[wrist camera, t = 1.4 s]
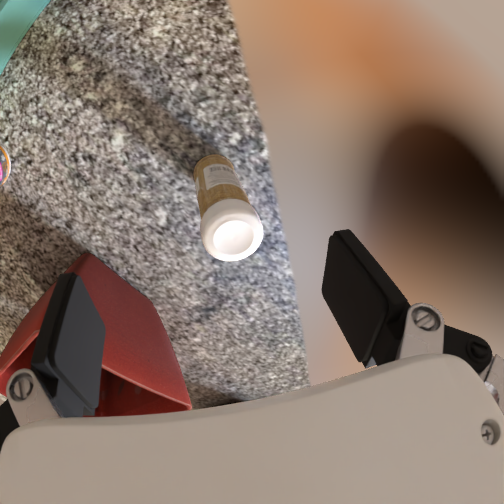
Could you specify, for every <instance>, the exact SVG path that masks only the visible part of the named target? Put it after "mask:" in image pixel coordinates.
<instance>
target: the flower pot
mask: <svg viewBox="0 0 504 504" xmlns="http://www.w3.org/2000/svg"><path fill="white" fill-rule="evenodd" d="M70 272H75V273H76V275H80V276H81V278H82V280H83V283H84V285H85V287H86V289H87V291H88V293H89V295H90V297H91V299H92V301H93V303H94V305H95V307H96V309H97V311H98V313H99V315H100V317H101V318H102V320H103V322H104V324H105V328H106V335H105V342H104V350H103V358H102V367H101V378H100V390H99V404H98V407H97V408H95V416H88V415H83V417H112V416H134V415H149V414H161V413H171V412H180V411H188V410H191V409H192V405H191V402H190V398H189V395H188V391H187V388H186V385H185V382H184V379H183V375H182V372H181V369H180V366H179V364H178V361H177V358H176V355H175V353H174V350H173V347H172V345H171V342H170V340H169V337H168V335H167V332H166V330H165V328H164V326H163V324H162V321H161V319H160V317H159V315H158V313H157V311H156V309H155V307H154V305H153V303H152V302H151V301H150V300H149V299H148V298H147V297H145V296H144V295H143V294H141V293H140V292H139V291H137V290H136V289H135V288H134V287H132V286H131V285H130V284H128V283H127V282H126V281H125V280H123V279H122V278H121V277H120V276H118V275H117V274H116V273H115V272H113V271H112V270H111V269H110V268H109V267H107V266H106V265H105V264H104V263H103V262H101V261H100V260H99V259H98V258H97V257H95V256H94V255H93V254H91V253H84V254H82V255H81V256H80V257H79V258H78V259H77V260H76V261H75V262H74V263H73V264H72V265H71V266H70V267H69V268H68V269H67V270H66V271H65V272H64V273H70ZM64 273H63V274H64ZM56 282H57V281H56ZM56 282H55V283H54V284H53V285H52V286H51V287H50V288H49V289H48V290H47V291H46V292H45V294H44V295H43V296H42V297H41V298H40V299H39V300H38V301H37V302H36V303H35V305H34V306H33V307H32V308H31V310H30V311H29V312H28V314H27V315H26V316H25V318H24V319H23V320H22V322H21V323H20V325H19V326H18V328H17V329H16V331H15V332H14V334H13V335H12V337H11V338H10V340H9V342H8V343H7V345H6V347H5V349H4V350H3V352H2V354H1V356H0V393H1V394H2V395H4V396H6V397H7V395H6V386H7V383H8V380H9V379H10V377H11V376H12V375H13V374H14V373H15V372H16V371H18V370H20V369H29V370H30V368H31V359H32V355H33V352H34V348H35V345H36V341H37V338H38V334H39V331H40V328H41V325H42V322H43V318H44V315H45V312H46V310H47V307H48V304H49V301H50V298H51V296H52V293H53V290H54V288H55V285H56Z"/></svg>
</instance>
